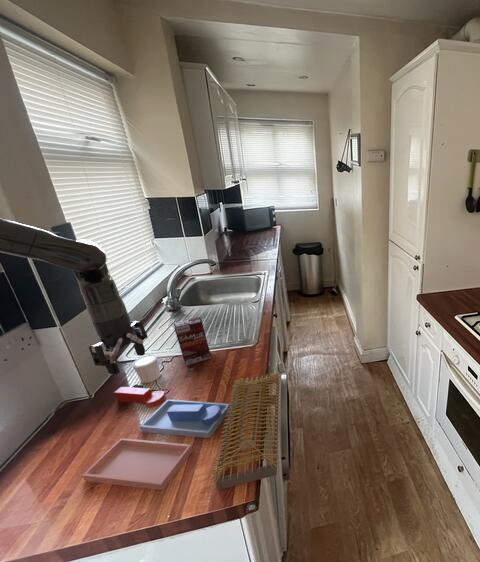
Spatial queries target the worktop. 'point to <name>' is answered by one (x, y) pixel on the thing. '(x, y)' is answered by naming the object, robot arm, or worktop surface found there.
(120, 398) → the red spoon
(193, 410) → the blue spoon
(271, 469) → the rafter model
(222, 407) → the blue tray
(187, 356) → the supplement box
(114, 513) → the worktop surface
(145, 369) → the white short cylinder
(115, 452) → the rose tray
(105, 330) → the robot arm
